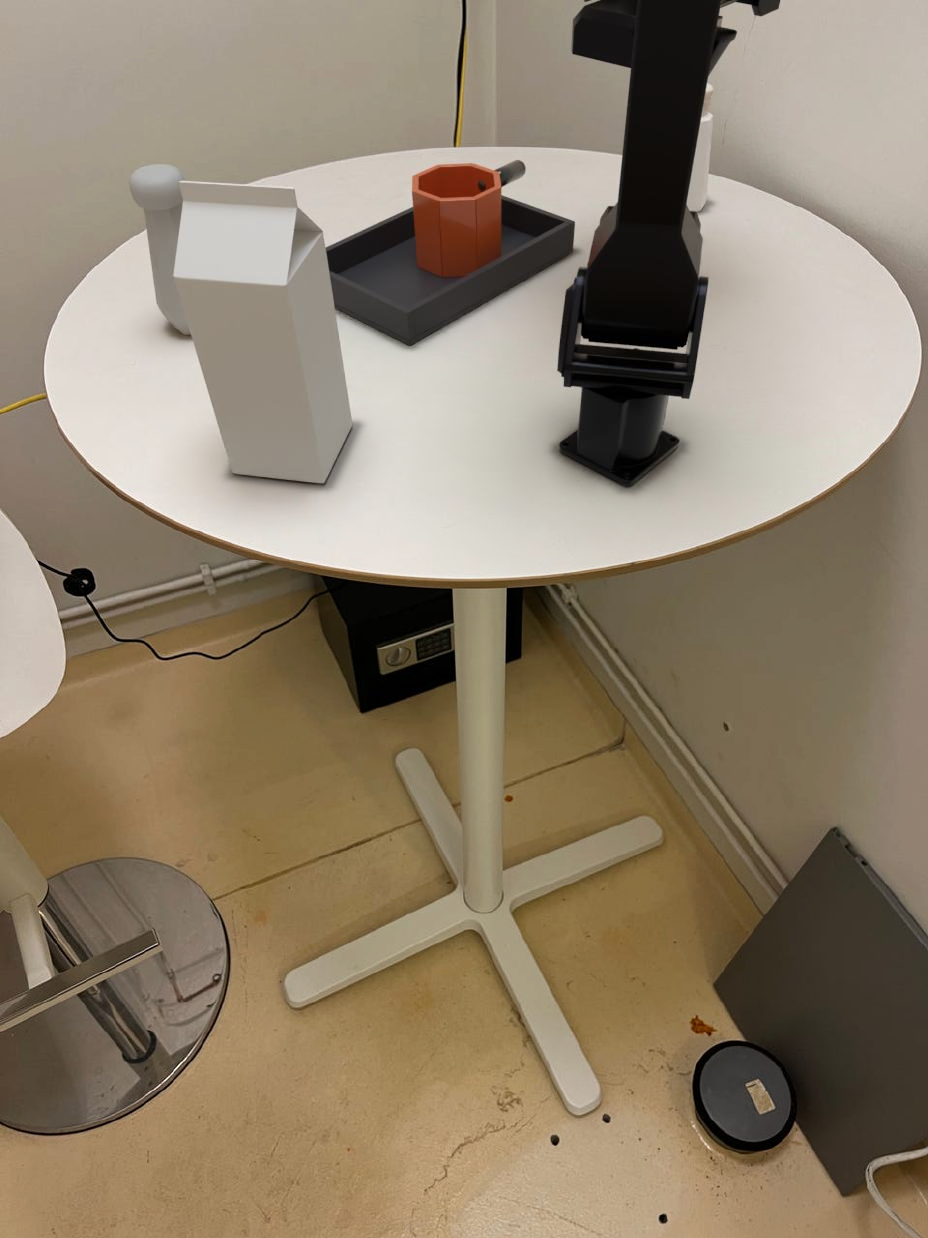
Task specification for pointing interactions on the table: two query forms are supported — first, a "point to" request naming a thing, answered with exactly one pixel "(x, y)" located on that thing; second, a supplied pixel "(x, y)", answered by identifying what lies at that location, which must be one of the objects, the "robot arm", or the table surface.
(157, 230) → the salt shaker
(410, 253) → the black tray
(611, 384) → the robot arm
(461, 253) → the pot
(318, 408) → the milk carton
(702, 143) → the pepper shaker
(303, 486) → the table surface
